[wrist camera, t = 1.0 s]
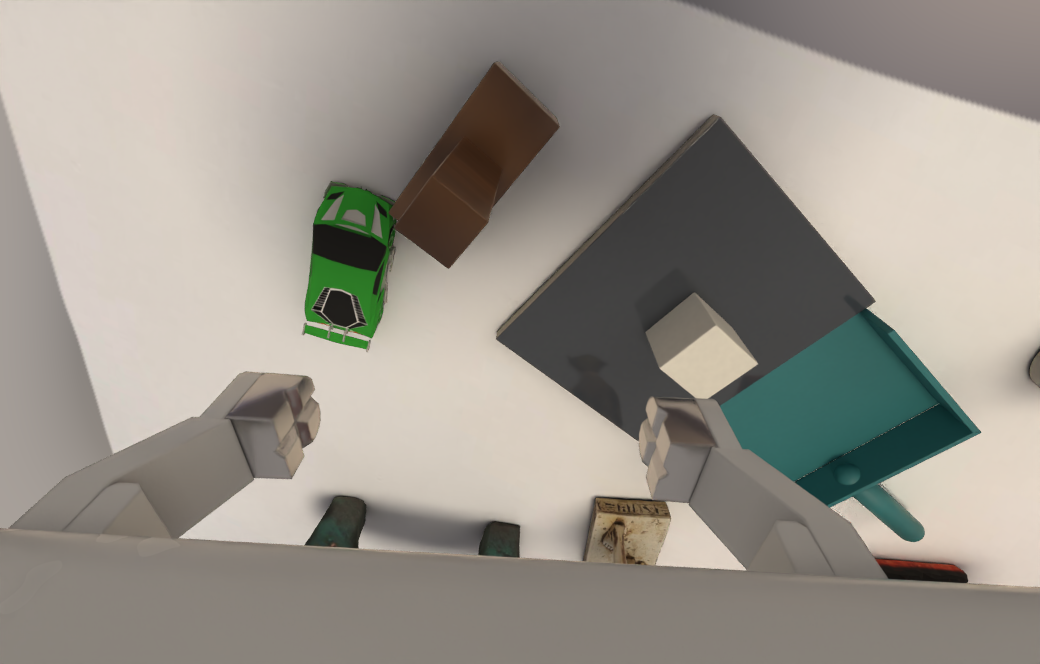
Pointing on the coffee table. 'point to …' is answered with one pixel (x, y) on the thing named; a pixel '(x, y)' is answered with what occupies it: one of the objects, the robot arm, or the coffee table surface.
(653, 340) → the chalk block
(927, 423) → the dustpan
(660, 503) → the statue
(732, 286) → the slate board
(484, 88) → the brush
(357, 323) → the toy car
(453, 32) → the coffee table surface
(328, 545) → the ceramic cat
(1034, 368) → the lotion bottle
